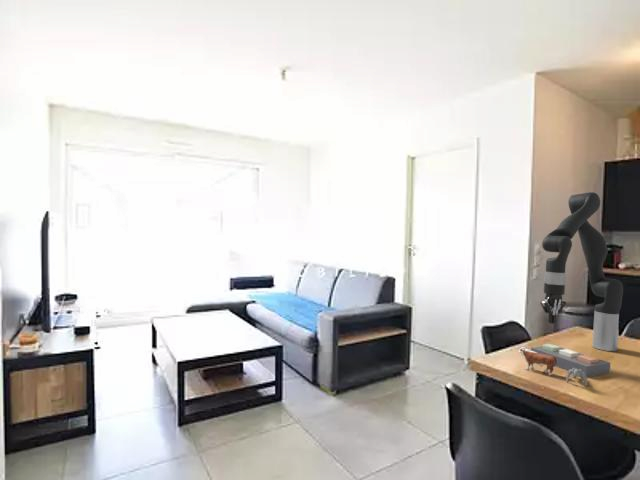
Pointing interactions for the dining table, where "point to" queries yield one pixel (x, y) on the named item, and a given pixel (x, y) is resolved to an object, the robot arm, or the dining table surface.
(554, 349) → the sage button
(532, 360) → the bull figurine
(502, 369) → the dining table surface
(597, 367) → the button panel
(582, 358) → the terracotta button
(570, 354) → the cream button
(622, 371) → the dining table surface
